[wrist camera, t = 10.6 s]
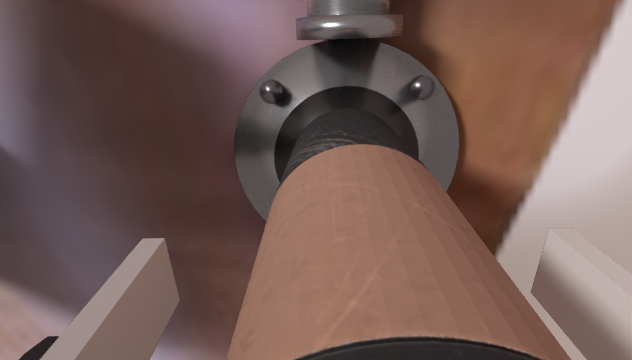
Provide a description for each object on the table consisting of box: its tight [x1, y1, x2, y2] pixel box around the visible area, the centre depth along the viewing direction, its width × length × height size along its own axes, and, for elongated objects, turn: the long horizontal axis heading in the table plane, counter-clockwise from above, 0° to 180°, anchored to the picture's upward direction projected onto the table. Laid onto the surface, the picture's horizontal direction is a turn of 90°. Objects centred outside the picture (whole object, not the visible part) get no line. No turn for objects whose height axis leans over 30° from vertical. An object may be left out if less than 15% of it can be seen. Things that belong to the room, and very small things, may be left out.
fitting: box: [234, 0, 459, 222], centre depth 20 cm, size 15×22×6 cm
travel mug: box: [226, 108, 571, 360], centre depth 13 cm, size 8×8×20 cm
